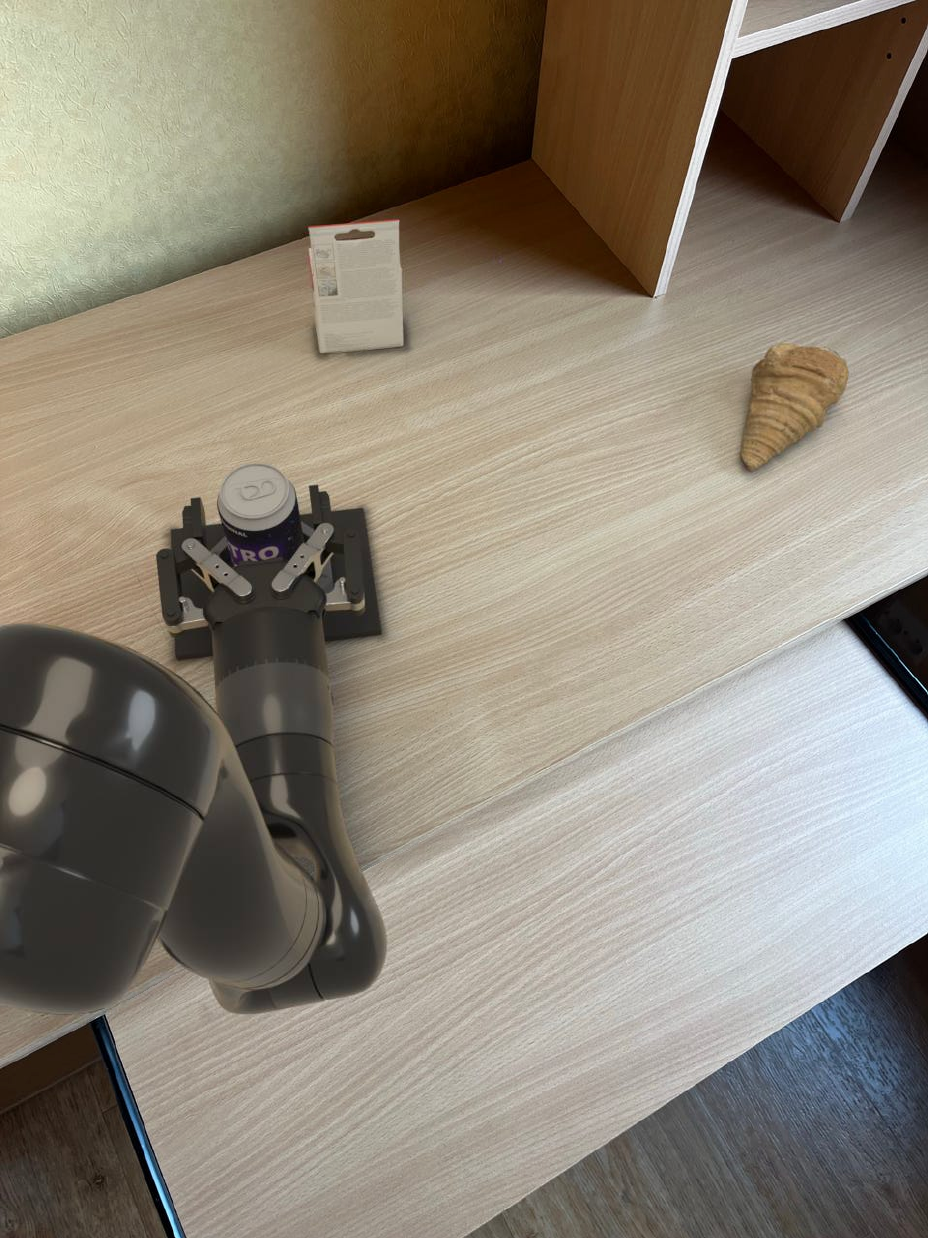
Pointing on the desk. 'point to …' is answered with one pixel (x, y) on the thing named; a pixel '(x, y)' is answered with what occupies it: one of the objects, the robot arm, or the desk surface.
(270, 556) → the beverage can
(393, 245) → the ink box
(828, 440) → the desk surface
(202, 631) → the socket pad
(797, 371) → the seashell
